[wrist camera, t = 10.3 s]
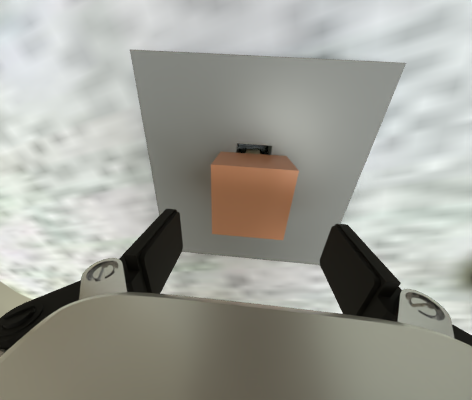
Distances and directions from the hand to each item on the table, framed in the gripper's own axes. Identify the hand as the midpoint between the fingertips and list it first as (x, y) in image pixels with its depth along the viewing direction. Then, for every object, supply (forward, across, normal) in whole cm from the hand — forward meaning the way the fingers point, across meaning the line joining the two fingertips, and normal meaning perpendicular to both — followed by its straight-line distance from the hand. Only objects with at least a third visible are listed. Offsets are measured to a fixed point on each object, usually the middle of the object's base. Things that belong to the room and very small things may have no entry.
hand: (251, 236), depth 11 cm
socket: (+10, 0, -1) cm, 10 cm away
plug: (+10, 0, -1) cm, 10 cm away
